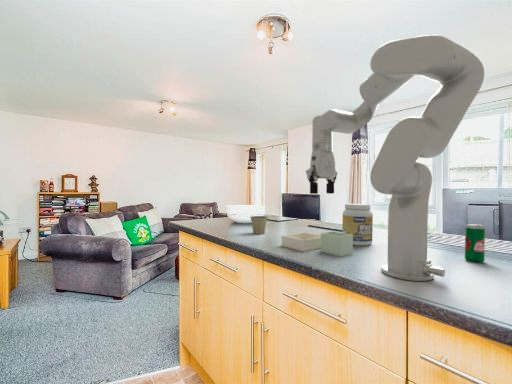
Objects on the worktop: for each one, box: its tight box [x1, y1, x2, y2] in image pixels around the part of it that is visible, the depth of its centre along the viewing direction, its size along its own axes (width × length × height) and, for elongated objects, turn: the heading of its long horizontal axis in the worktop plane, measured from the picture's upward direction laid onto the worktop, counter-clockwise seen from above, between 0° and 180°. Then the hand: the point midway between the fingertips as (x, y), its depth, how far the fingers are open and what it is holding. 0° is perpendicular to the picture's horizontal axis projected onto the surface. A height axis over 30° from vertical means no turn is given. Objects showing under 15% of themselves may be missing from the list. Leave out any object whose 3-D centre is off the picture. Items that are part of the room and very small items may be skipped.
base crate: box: [281, 231, 321, 252], centre depth 109 cm, size 12×14×4 cm
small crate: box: [320, 230, 354, 257], centre depth 99 cm, size 9×7×7 cm
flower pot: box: [249, 215, 269, 235], centre depth 139 cm, size 9×9×9 cm
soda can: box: [464, 223, 486, 264], centre depth 87 cm, size 5×5×12 cm
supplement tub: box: [341, 203, 374, 247], centre depth 115 cm, size 12×12×17 cm
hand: (322, 193), depth 102 cm, fingers open, 9 cm apart
